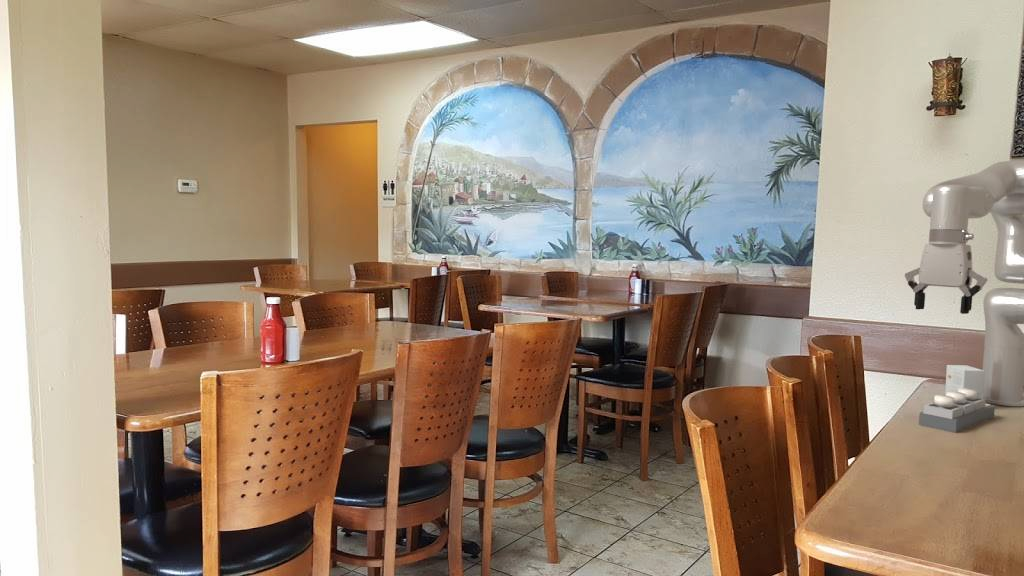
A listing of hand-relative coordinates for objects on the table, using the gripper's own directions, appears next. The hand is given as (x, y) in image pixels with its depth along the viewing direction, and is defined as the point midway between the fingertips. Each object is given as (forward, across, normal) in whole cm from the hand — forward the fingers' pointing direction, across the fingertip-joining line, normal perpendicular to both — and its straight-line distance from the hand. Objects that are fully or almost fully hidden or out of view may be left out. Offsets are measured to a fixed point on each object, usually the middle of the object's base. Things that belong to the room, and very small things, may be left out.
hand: (941, 311), depth 166 cm
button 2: (+22, -1, -17) cm, 28 cm away
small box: (+27, +4, -31) cm, 41 cm away
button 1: (+22, -1, -3) cm, 23 cm away
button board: (+27, -1, -12) cm, 30 cm away
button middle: (+22, -1, -10) cm, 24 cm away
